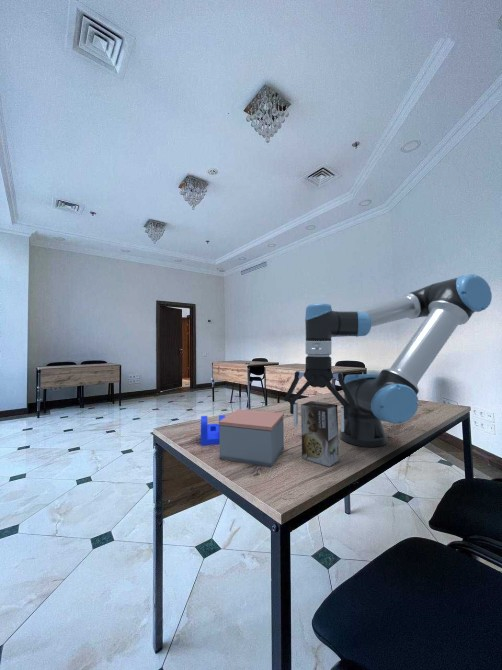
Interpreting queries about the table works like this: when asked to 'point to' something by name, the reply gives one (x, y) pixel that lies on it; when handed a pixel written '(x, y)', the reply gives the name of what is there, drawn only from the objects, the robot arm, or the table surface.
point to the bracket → (210, 432)
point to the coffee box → (319, 432)
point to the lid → (252, 419)
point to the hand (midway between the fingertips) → (318, 427)
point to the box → (251, 444)
